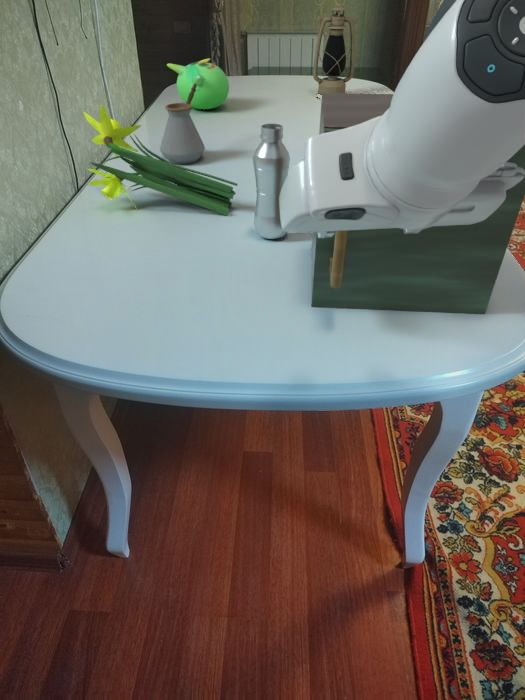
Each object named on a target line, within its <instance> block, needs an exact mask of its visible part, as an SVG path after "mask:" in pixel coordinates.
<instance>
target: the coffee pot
mask: <svg viewBox="0 0 525 700" xmlns="http://www.w3.org/2000/svg"><path fill="white" fill-rule="evenodd" d="M196 86H199V85H197V84H196V83H195V84H194V85H193V86H192V88H191V92H190V93H189V96H188V99H187V103H185V102H174V103H169V104H167V105H165V107H164V108H165V110H167V114H168V118H167V121H166V125H165V128H164V131H163V136H162V139H161V143H160V145H159V151H160V153H161V155H162V156H163V157H164V158H165V160H168V162H170V163H172V164H174V165H185V164H186V165H187V164H188V165H189V164H192V163H195V162H197V161H198V160H199V158H201V157H202V155H203V154H204V152H205V150H206V147H205V143H204V142H203V140H202V137H201V135H200V134H199V131H198V129H197V128H196V125H195V123H194V121H193V119H192V117H191V115H190V114H191V111H192V109H193V107H192V106H191V105H190V103H191V101H192V99H193V97H194V92H195V91H199V90H200V89H199V90H196V89H195V88H196ZM199 87H200V86H199Z"/></svg>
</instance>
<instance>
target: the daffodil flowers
mask: <svg viewBox="0 0 525 700" xmlns="http://www.w3.org/2000/svg"><path fill="white" fill-rule="evenodd" d="M99 108H100V109H99V117H98V119H99V120H98V121H97V120H96V119H95V118H94V117H92V116H91V115H89V114H88V113H87V112H85V111H82V113H83V115H84V117H85V119H86V121H87V122H88V123H89V124H90V126H91V127H93V128H94V129H95V130H96V131H97V132H98V133H99V134H97V135H95V136H94V137H93V138H92V140H91V142H92V143H95V144H96V145H99V146H104V145H105V146H106V147H107V148H108V149H109V151H110V153H111V152H112V154H113V155H114V157H110V158H108V159H106V160H104V161H101V163H106V162H109V161H112V160H117V159H121V160H122V161H123V162H125V163H127V164H129V165H128V166H129V167H130V168H131V170H133V171H134V172H126V171H124V170H120V169H118V168H114V167H111V166H108V165H104V164H101V163H97V162H93V161H90V162H89V164H91V165H93V166H94V167H96V168H98V169H100V170H98V169H95V168H86V167H85V168H84V169H86V171H90V172H91V173H94V174H96V175H97V176H100V177H102V178H101V179H99V178H98V179H94V180H91V181H90V182H88V183H87V185H88V186H97V187H98V186H99V187H100V186H102V187H103V186H105V187H104V188H103V189H101V190H100V194H102V195H103V196H104V197H106V199H108V200H113V199H114V198H116V200H117V199H119V197H120V196H121V194H122V193H123V194H124V195H125V197H126V198H128V199H129V200H130V201H131V202H133V201H132V199H131V197H130V196H129V195H128V193H127V192H126V190H125V189H127V190H129V191H131V192H134V191H136V190H140V189H146V188H147V189H151V190H154V191H156V192H159V193H162V194H165V195H168V196H171V197H173V198H176V199H179V200H181V201H185V202H187V203H190V204H193V205H195V206H199V207H202V208H204V209H207V210H210V211H213V212H216V213H218V214H222V215H224V216H229V213H230V208H231V206H232V204H233V202H232V201H231V200H233V199H234V196H235V195H236V194H237V192H235V190H234V187H233V186H236V187H238V185H239V184H238V182H237V183H236V182H234V181H231V180H228V179H224V178H223V177H218V176H215V175H212V174H208V173H206V172H201V171H198V170H195V169H191V168H188V167H184V166H182V165H179V164H175V163H172V162H170V161H169V160H167V159H166V158H165V159H164V158H163V157H161V156H159V155H158V154H156V153H155V152H154V151H153V152H152V151H151V150H150V149H149V148H147V147H146V146H145V145H144V144H143V143H142V142H141V141H140V139H139V138H138V136H137V135H136V133H134V132H135V131H137V130H138V129H140V128H141V127H142V125H140V124H135V125H131V126H123V127H121V124H120V122H119V121H118V120H115V118H110V116H109V114H108V112H107V109H106V108H105V106H104V104H100V107H99ZM131 134H133V135H134V137H135V138H136V140H137V142H138V143H137V142H136V140H135V139H134V138H133V137H132V136H131ZM127 136H129V138H130V139H131V141H132V142H133V144H134V145H135V146H136V147H137V148H138V149H137V148H134V147H133V146H132V145H131V144H129V143H128V142H127V141H125V140H124V138H125V137H127ZM139 152H140V153H139ZM141 153H142V154H141ZM101 170H102V171H101ZM103 171H104V172H103ZM124 180H126V181H129V182H131V183H134V184H132V185H131V186H129V187H128V186H127V185H126V184H124V183H123V181H124ZM223 182H224V183H223ZM225 183H227V184H225ZM228 184H230V185H228ZM231 185H233V186H231ZM137 186H139V187H137ZM133 187H137V188H135V189H130V188H133ZM133 206H134V208H135V209H136V210H138V208H137V207H136V205H135V204H133Z"/></svg>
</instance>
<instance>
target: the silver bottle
mask: <svg viewBox="0 0 525 700" xmlns="http://www.w3.org/2000/svg"><path fill="white" fill-rule="evenodd" d="M259 138H260V139H261V142H260V143H259V144H258V146H257V147H256V148H255V150H254V152H253V156H252V164H253V170H254V178H255V187H256V202H255V203H256V204H255V212H254V218H253V225H254V230H255V232H256V234H257V235H258V236H259V237H261V238H264V239H269V240H276V239H280V238H283V237H285V235H286V234H287V232H286V231H284V230H283V229H282V227H281V220H280V206H279V198H280V193H281V189H282V186H283V184H284V182H285V180H286V177H287V176H288V174H289V171H290V163H291V162H290V161H291V157H290V152H289V150H288V148H287V147H286V145H285V144H284V143H283V139H284V126H283V124H279V123H264V124H262V125H261V126H260V135H259Z"/></svg>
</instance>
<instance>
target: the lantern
mask: <svg viewBox="0 0 525 700" xmlns="http://www.w3.org/2000/svg"><path fill="white" fill-rule="evenodd" d="M342 1H343V0H341V1H340V4H342ZM330 11H331V15H330V16H327V17H324V18H323V17H321V16H319V17H318V18H317V22H318V25H319V26H318V28H317V32H316V38H317V39H316V44H315V50H314V60H313V69H312V72H313V73H312V77H313V80H314V81H315V82H316V83H318V89H317V92H318V93H317V92H316V93H317V94H320V95H322V93H345V92H346V87H347V85H346V83H348V82H349V81H351V80H352V79H353V76H354V70H355V54H356V53H355V48H356V47H355V45H356V41H355V40H356V39H355V38H356V37H355V34H356V33H357V25H358V24H357V23H358V21H359V19H358V17H357V15H356V16H354V17H352V18H351V17H349V16H345V11H347V9H346V8H344V7H342V5H340V6H335V7H333V8H331V9H330ZM334 12H335V13H334ZM327 23H330V24H329V25H328V26H326V24H327ZM345 23H348V25H349V31H350V32H349V33H350V47H349V48H347V51H346V44H345V36H344V29H347V28H348V26H346V25H345ZM325 26H326V28H327V29H329V33H328V34H329V35H328V38H327V40H326V45H325V48H324V50H322V52H323V56H322V60H321V58H320V57H321V54H320V51H321V50H320V49H321V44H322V38H323V33H324V30H325V29H324V28H325ZM346 53H347V54H346ZM349 55H350V56H349ZM348 56H349V72H348V76H346V77H345V78H342V76H344V75H345V74H346V72H344V71H345V69H346V65H347V58H348ZM319 61H320V62H321V63H322V70H323V72H324V73H325V77H324V75H323V74H322V73H323V72H318V68H319ZM343 72H344V74H343ZM319 74H321V75H322V77H323V78H320V77H319V76H318V75H319ZM340 76H341V77H340Z"/></svg>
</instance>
